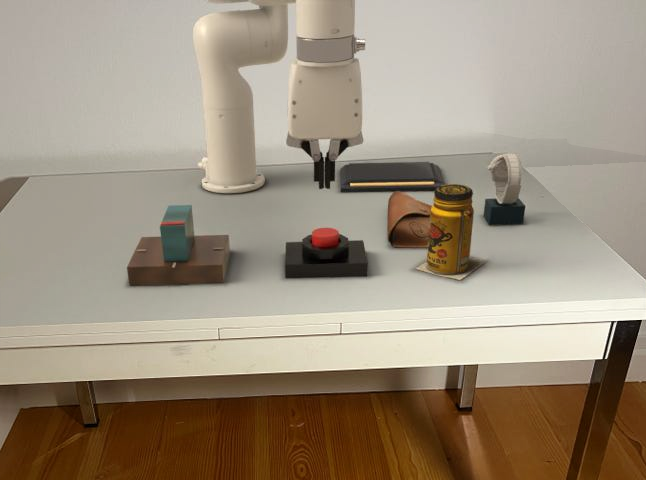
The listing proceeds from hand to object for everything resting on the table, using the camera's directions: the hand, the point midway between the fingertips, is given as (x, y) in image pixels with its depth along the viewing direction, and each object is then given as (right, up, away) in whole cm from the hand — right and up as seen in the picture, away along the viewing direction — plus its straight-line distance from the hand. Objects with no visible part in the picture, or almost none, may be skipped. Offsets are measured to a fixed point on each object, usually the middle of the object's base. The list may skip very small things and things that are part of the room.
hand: (324, 185), depth 109 cm
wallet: (+17, +10, +41) cm, 46 cm away
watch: (+32, -2, +19) cm, 37 cm away
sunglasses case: (+16, -3, +18) cm, 24 cm away
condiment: (+19, -11, +4) cm, 23 cm away
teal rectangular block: (-21, -8, +6) cm, 24 cm away
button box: (+1, -11, +6) cm, 12 cm away
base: (-21, -11, +7) cm, 25 cm away
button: (+1, -8, +4) cm, 9 cm away
